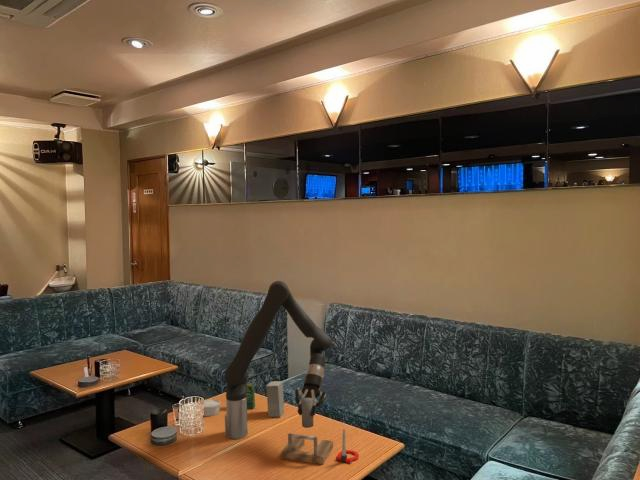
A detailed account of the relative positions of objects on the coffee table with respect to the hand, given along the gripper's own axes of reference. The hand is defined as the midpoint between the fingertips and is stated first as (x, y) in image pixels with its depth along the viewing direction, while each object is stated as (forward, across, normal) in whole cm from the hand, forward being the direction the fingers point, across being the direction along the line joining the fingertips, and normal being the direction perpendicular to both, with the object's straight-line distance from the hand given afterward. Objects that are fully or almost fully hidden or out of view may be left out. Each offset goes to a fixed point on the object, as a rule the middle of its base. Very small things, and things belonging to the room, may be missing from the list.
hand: (305, 414), depth 190 cm
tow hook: (+10, +17, +14) cm, 24 cm away
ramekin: (-8, -63, +32) cm, 71 cm away
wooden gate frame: (+11, 0, +13) cm, 17 cm away
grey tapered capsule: (+2, 0, +5) cm, 6 cm away
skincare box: (-13, -29, +37) cm, 49 cm away
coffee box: (-16, -47, +40) cm, 64 cm away
